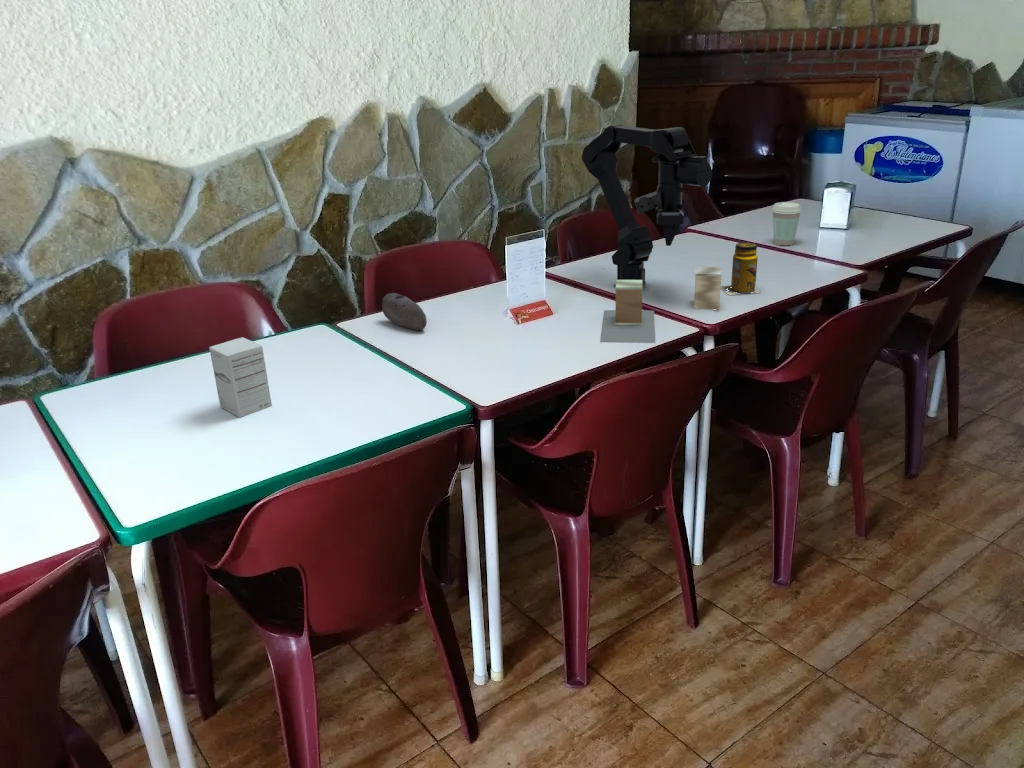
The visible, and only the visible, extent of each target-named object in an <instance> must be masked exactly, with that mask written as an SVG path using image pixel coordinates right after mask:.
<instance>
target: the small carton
mask: <svg viewBox="0 0 1024 768" xmlns="http://www.w3.org/2000/svg"><path fill="white" fill-rule="evenodd" d="M615 284H616V287H615V310H616V311H615V325H642V311H643V286H642V280H617V279H616V280H615Z"/></svg>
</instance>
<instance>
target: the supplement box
mask: <svg viewBox="0 0 1024 768" xmlns="http://www.w3.org/2000/svg"><path fill="white" fill-rule="evenodd" d="M208 350H209V353H210V354H209V355H210V357H211V358H210V359H211V365H212V369H213V374H214V375H213V376H214V379H215V381H214V382H215V386H216V390H217V397H218V401H219V406H220V408H222V409H224V410H226V411H227V412H229V413H231V414H233V415H234V416H236V417H237V418H242V417H245V416H248V415H251V414H252V413H256V412H260V411H262V410H264V409H267V408H270V407H272V406H273V404H272V398H271V392H270V387H269V379H268V373H267V367H266V361H265V356H264V355H265V354H264V349H263V345H261V344H259V343H257V342H255V341H252V340H250V339H248V338H245V337H243V336H242V337H238V338H234V339H232V340H227V341H225V342H222V343H218V344H215V345H212V346H209V347H208Z"/></svg>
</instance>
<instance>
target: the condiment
mask: <svg viewBox="0 0 1024 768" xmlns="http://www.w3.org/2000/svg"><path fill="white" fill-rule="evenodd" d="M757 248H758V246H757V244H756V243H754V242H746V241H745V242H738V243H736V244H735V249H734V254H733V255H732V256H733V257H732V267H731V270H732V271H731V280H730V281H731V283H730V284H731V285H721V288H720V290H721V291H723V292H724V293H726V294H727V295H728V296H731V295H741V294H740V293H751V292H755V291H756V293H755V294H759V293H761V291H759V290H758V289H757V288H756V283H757V268H758V259H759V258H758V254H757ZM730 287H732V288H730ZM727 288H728V290H729V291H728V292H726V291H727V290H726V289H727ZM734 292H737V293H734ZM751 294H753V293H751Z"/></svg>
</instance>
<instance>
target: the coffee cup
mask: <svg viewBox="0 0 1024 768" xmlns="http://www.w3.org/2000/svg"><path fill="white" fill-rule="evenodd" d="M772 206H773V207H772V208H771V212H772V228H773V230H772V232H773V244H774V245H775V244H776V245H775V246H778V245H786V246H785V247H788V246H787V245H791V246H793V245H794V244H795V239H796V235H797V231H798V225H799V221H800V215H801V213H802V207H801V204H800V203H798V202H792V201H781V202H776V203H774V204H773V205H772Z"/></svg>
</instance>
